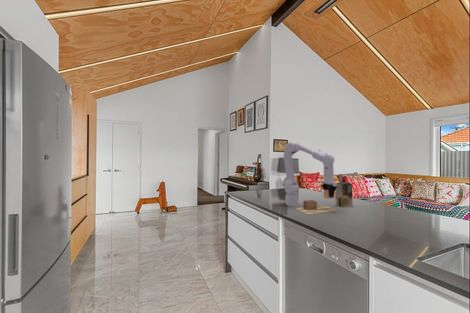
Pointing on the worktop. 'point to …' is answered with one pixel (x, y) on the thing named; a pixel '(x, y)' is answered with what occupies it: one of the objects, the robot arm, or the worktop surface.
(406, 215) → the worktop surface
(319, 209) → the board
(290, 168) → the robot arm
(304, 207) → the slab low
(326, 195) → the block
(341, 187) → the coffee box
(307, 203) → the slab high
